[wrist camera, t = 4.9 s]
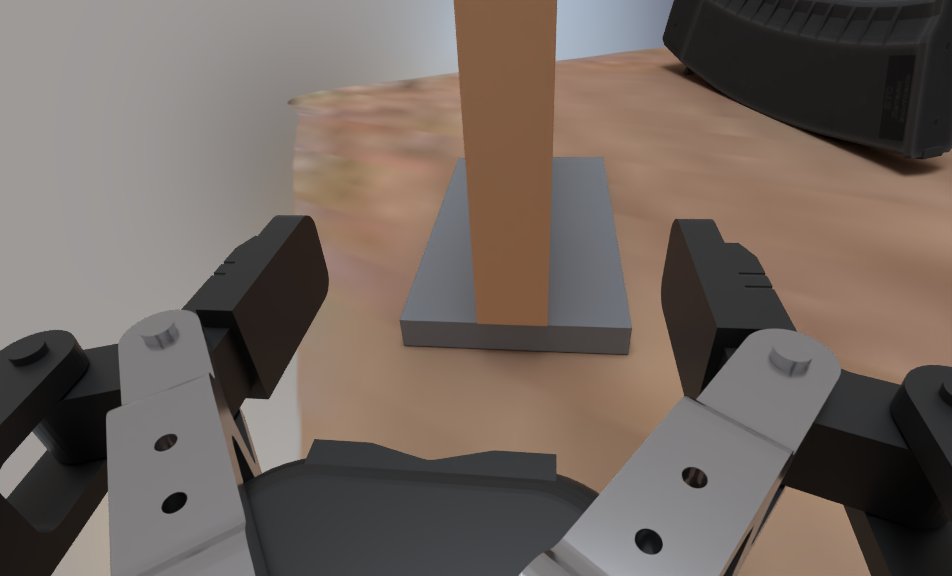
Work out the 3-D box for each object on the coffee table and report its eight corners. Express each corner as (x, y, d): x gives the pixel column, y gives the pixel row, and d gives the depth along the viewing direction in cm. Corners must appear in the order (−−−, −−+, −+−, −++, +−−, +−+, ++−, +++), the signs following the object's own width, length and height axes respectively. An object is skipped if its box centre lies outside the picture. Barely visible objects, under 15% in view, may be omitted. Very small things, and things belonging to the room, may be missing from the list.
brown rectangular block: (549, 230, 29) (558, -86, 21) (547, 326, 23) (559, -73, 15) (494, 229, 30) (481, -81, 21) (476, 323, 23) (448, -67, 15)
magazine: (1062, 29, 29) (746, -143, 46) (1014, 36, 28) (713, -140, 46) (870, 246, 42) (682, 50, 60) (834, 253, 42) (655, 53, 59)
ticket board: (601, 177, 38) (625, -97, 29) (627, 354, 24) (692, -80, 14) (460, 177, 39) (439, -85, 30) (404, 345, 25) (331, -58, 16)
